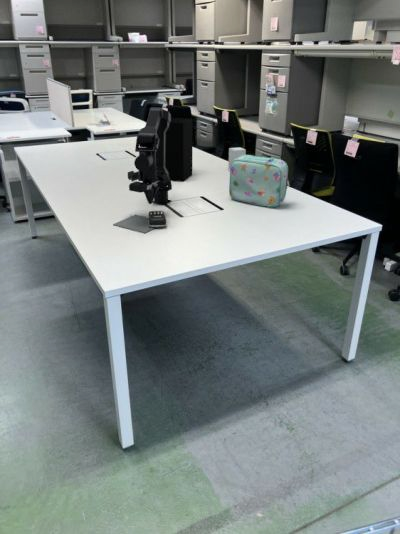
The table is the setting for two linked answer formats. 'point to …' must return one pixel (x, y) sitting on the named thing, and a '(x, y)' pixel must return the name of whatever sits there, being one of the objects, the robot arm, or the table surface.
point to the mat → (135, 223)
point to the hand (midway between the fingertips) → (150, 203)
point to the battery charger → (156, 219)
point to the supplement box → (235, 154)
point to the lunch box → (258, 180)
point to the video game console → (179, 149)
